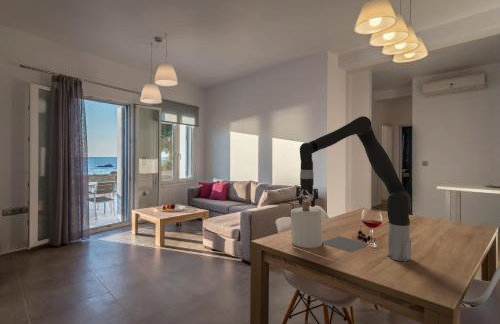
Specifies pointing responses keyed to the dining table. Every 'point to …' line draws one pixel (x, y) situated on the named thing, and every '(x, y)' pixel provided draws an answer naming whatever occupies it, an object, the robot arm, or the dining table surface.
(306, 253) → the dining table surface
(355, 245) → the mat
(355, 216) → the dining table surface
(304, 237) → the white cylindrical cover
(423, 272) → the dining table surface
